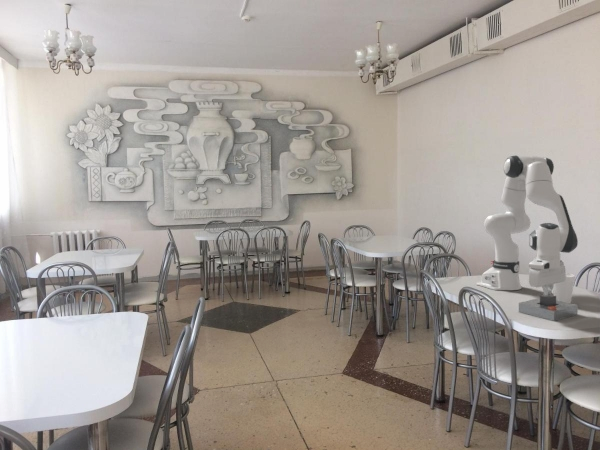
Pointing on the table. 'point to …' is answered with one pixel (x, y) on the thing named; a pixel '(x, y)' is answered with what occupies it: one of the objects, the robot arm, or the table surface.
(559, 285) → the foam cup
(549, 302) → the plug
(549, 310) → the socket
